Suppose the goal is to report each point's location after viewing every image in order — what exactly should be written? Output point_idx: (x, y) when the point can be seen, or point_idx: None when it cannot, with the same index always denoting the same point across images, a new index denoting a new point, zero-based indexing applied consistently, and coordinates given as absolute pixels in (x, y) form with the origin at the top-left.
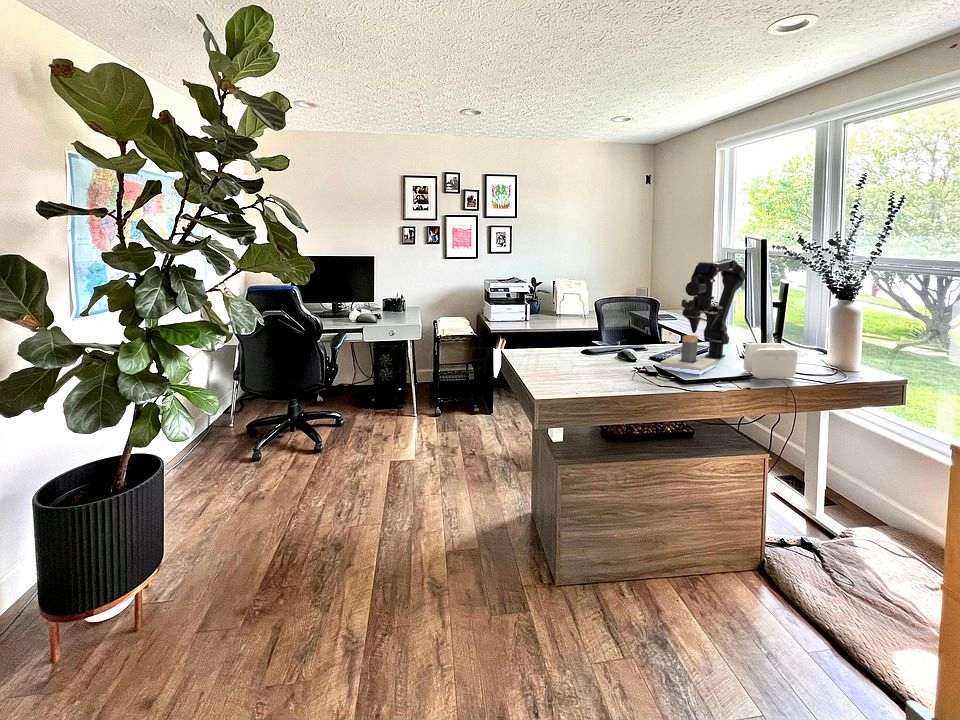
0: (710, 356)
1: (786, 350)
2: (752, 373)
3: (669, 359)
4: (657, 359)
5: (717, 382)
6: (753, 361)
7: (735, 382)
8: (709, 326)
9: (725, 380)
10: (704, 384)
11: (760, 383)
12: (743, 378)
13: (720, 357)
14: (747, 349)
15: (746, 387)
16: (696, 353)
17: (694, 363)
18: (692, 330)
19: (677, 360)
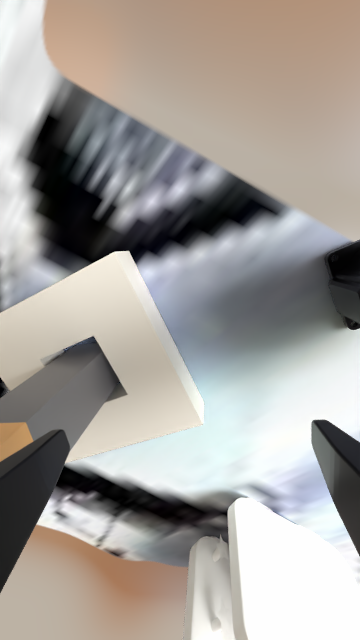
0: (330, 287)
1: None
2: (193, 547)
3: (18, 321)
4: (61, 177)
5: (80, 498)
6: (189, 605)
7: (124, 520)
8: (338, 500)
9: (113, 499)
10: None
11: (176, 554)
12: (174, 515)
13: (355, 328)
14: (235, 621)
15: (117, 549)
16: (91, 420)
17: None
18: (30, 451)
19: (41, 351)
